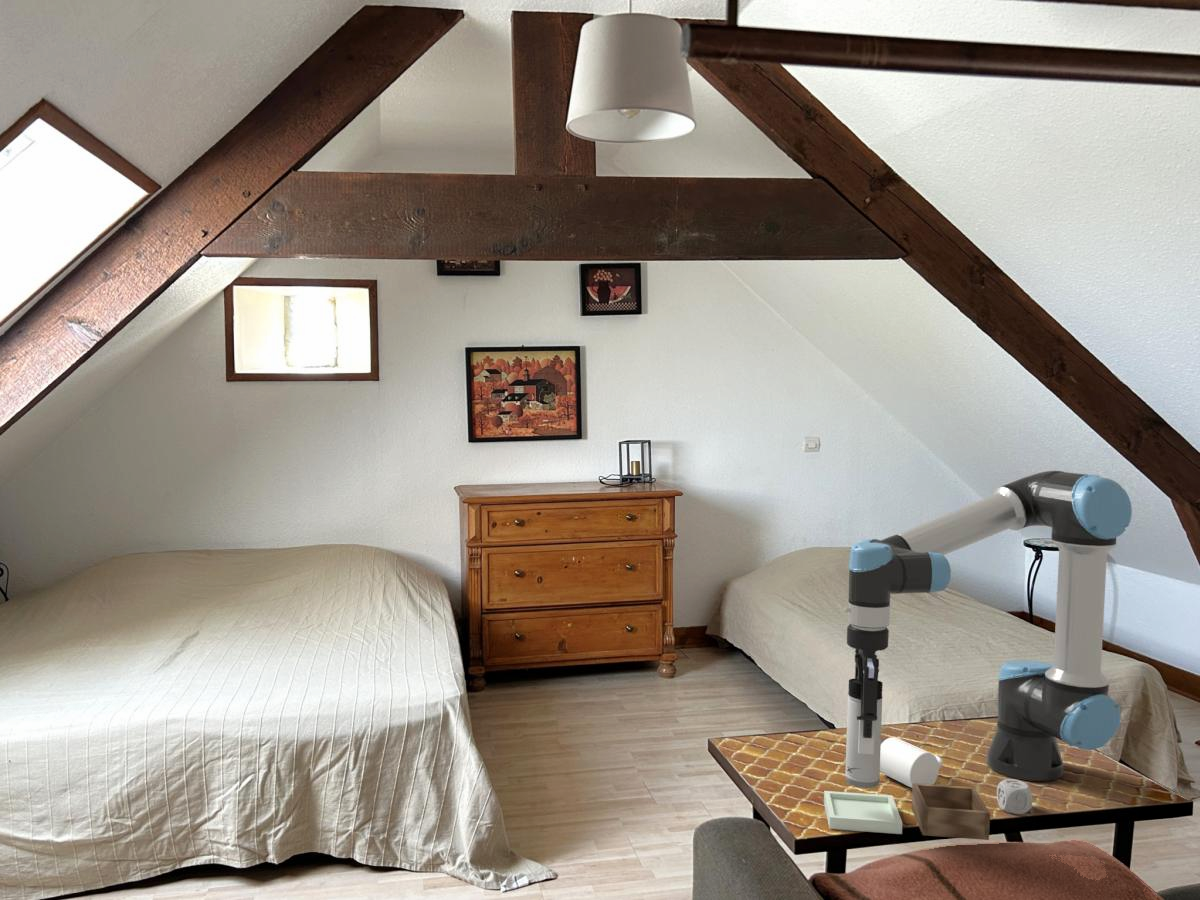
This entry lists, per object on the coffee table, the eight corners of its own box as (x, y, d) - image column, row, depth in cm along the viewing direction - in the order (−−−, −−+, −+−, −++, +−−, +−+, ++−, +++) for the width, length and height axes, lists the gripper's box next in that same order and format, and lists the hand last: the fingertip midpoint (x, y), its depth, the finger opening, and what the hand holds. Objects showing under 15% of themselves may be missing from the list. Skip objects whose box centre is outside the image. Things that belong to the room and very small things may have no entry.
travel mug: (846, 787, 186) (850, 682, 185) (843, 774, 193) (847, 672, 191) (881, 790, 185) (885, 684, 184) (877, 776, 192) (881, 674, 190)
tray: (891, 806, 195) (892, 795, 194) (901, 834, 183) (902, 822, 183) (823, 801, 196) (824, 790, 196) (829, 828, 184) (829, 817, 184)
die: (1021, 803, 197) (1022, 779, 196) (1031, 814, 192) (1033, 789, 192) (995, 803, 197) (996, 778, 197) (1005, 814, 192) (1006, 789, 192)
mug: (909, 795, 200) (911, 756, 200) (874, 777, 209) (876, 740, 209) (953, 784, 206) (954, 746, 205) (917, 767, 215) (918, 731, 214)
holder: (973, 812, 192) (974, 787, 192) (988, 839, 181) (990, 813, 180) (911, 808, 194) (912, 783, 193) (922, 835, 182) (923, 808, 182)
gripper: (842, 613, 197) (837, 727, 198) (853, 637, 178) (848, 764, 179) (881, 615, 196) (876, 730, 197) (896, 640, 177) (891, 767, 178)
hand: (863, 746), depth 188 cm, fingers closed on travel mug, 6 cm apart
